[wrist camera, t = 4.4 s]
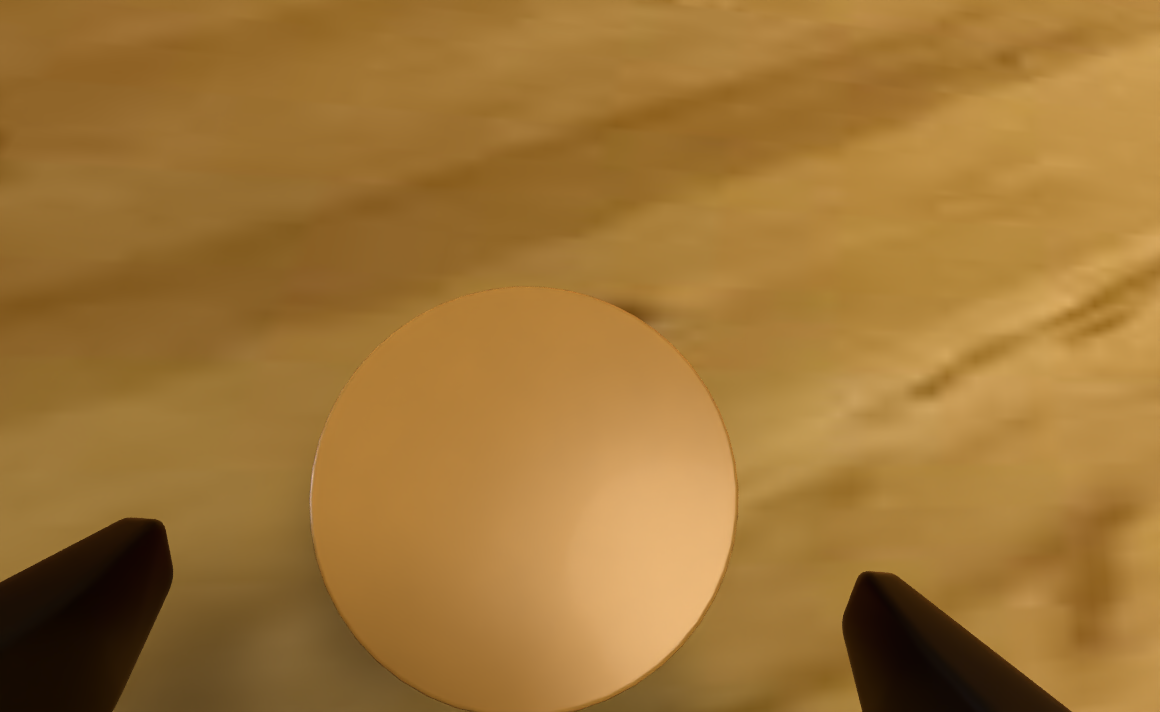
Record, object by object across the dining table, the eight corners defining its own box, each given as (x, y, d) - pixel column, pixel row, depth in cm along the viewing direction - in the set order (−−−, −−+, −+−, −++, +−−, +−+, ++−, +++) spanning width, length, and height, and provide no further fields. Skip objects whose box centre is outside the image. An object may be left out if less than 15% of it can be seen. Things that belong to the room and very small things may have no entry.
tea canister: (428, 683, 16) (335, 779, 8) (394, 452, 18) (286, 323, 9) (655, 624, 17) (796, 650, 9) (601, 409, 19) (675, 255, 10)
